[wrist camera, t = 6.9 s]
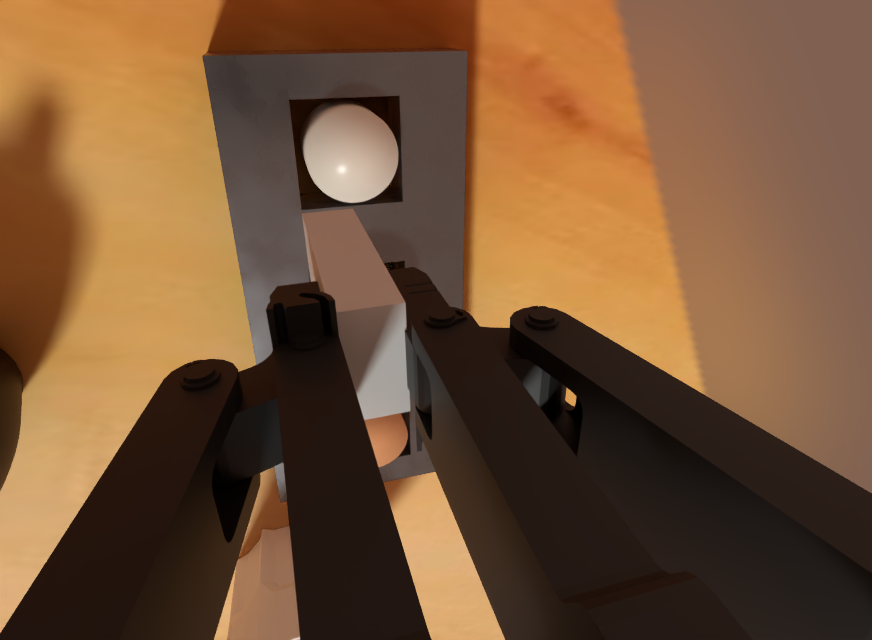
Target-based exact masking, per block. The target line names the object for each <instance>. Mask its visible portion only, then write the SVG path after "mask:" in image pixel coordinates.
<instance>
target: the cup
mask: <svg viewBox="0 0 872 640" xmlns="http://www.w3.org/2000/svg"><path fill="white" fill-rule="evenodd" d="M227 640H300V632H299V622H298V611H297V601H296V590H295V580H294V569H293V559H292V548H291V538H290V527H289V526H287V527H283V528H279V529H276V530H269V529H262V532H261V538H260V540H259V541H258V542H257V543H256V544H255V546H254V547H253V548H252V549H251V551H250V552H249V553H248V554H247V555H245V556H243V557H241V558H240V559H238V560H237V564H236V572H235V581H234V589H233V597H232V605H231V615H230V623H229V630H228V637H227Z"/></svg>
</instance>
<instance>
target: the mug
mask: <svg viewBox="0 0 872 640" xmlns="http://www.w3.org/2000/svg"><path fill="white" fill-rule="evenodd" d="M22 390H23V380H22V376H21V372H20V370H19V368H18V366H17V365H16V363H15V362H14V360H13V359H12V358H11V357H10V356H9V355H8V354H7V353H6V352H4V351H3V350H2V349H0V490H1V488H2V486H3V484H4V482H5V480H6V477H7V475H8V472H9V470H10V467H11V464H12V461H13V458H14V455H15V452H16V448H17V444H18V439H19V433H20V425H21V406H22Z"/></svg>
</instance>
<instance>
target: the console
mask: <svg viewBox="0 0 872 640" xmlns="http://www.w3.org/2000/svg"><path fill="white" fill-rule="evenodd" d="M467 60H468V51H466V50H459V49H453V48H419V49H363V50H307V51H251V52H207V53H206V54H204V55H203V62H204V67H205V73H206V79H207V85H208V90H209V96H210V102H211V107H212V113H213V119H214V125H215V130H216V136H217V142H218V147H219V153H220V159H221V165H222V170H223V176H224V182H225V187H226V193H227V199H228V205H229V210H230V216H231V222H232V227H233V233H234V239H235V245H236V250H237V256H238V262H239V267H240V273H241V279H242V285H243V290H244V296H245V302H246V307H247V313H248V319H249V325H250V330H251V336H252V342H253V347H254V353H255V359H256V365H257V364H259V363H261V362H262V361H264V360H265V359H266V358H267V357H268V356H269V355H270V354H271V353H272V351H273V348H272V342H271V336H270V330H269V325H268V319H267V313H266V308H267V305H268V303H270V295H271V293H272V292H273V291H274V290H275V288H276V287H277V286H282V285H290V284H298V283H305V282H310V279H309V265H308V257H307V249H306V242H305V234H304V226H303V219H302V214H303V213H313V212H322V211H332V210H342V209H352V208H353V210H354V211H355V213H356V215H357V217H358V218H359V220H360V222H361V224H362V226H363V227H364V229H365V231H366V233H367V235H368V236H369V238H370V240H371V242H372V244H373V245H374V247H375V249H376V251H377V252H378V254H379V256H380V258H381V260H382V261H383V263H388V262H394V269H402V268H409V267H415V268H417V269H419V270H421V271H423V272H425V273H427V275H428V276H429V278H430V279H431V281H432V282H433V284H434V285H435V286H436V288H437V290H438V291H439V292H440V293H441V295H442V296H443V298H444V299H445V301H446V302H447V303H448V305H449V306H450V307H456V308H459V309H462V310H463V264H464V213H465V162H466V111H467ZM377 96H388V120H389V128H390V130H391V131H392V133H393V135H394V137H395V140H396V143H397V147H398V165H397V169H396V172H395V175H394V177H393V179H392V181H391V187H389V188H385V189H384V190H383V191H382V192H381V193H380V194H379V195H377V196H375V197H374V198H372V199H369V200H366V201H363V202H357V203H349V202H342V201H339V200H336V199H333V198H331V197H330V196H328V195H326V194H325V193H310V194H300V192H299V184H298V175H297V166H296V157H295V149H294V140H293V131H292V123H291V114H290V105H289V100H297V99H324V98H350V97H377ZM401 414H402V417H403V420H404V422H405V425H406V428H407V432H408V439H407V443H406V446H405V448H404V450H403V451H402V452H401V454H400V455H399V456H398V457H397V458H396V459H394V460H393V461H392V462H390V463H388V464H386V465H384V466H381V467H379V470H380V474H381V477H382V480H383V482H386V481H391V480H396V479H401V478H406V477H411V476H416V475H421V474H426V473H431V472H436V471H435V469H434V466H433V464H432V462H431V459H430V457H429V454H428V452H427V450H426V447H425V445H424V442H423V443H422V451H418V452H417V445H416V420H415V403H414V401H413V398H412V396H411V394H410V411H409V412H404V413H401ZM274 467H275V473H276V479H277V485H278V490H279V496H280V502H285V501H287V495H286V485H285V474H284V464H283V463H281V464H279V465H276V466H274Z"/></svg>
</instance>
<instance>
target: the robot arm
mask: <svg viewBox="0 0 872 640" xmlns="http://www.w3.org/2000/svg"><path fill="white" fill-rule="evenodd" d="M302 219H303V226H304V234H305V242H306V249H307V257H308V265H309V272H310V280H311V282H305V283H298V284H290V285H282V286H277V287H276V288H275V290H274V291H273V292H272V293H271V295H270V303H268V305H267V308H266V313H267V319H268V325H269V330H270V336H271V342H272V348H273V351H272V353H271V354H270V355H269V356H268V357H267V358H266V359H265V360H264V361H262V362H261V363H259V364H257V365H255V366H253V367H250V368H248V369H246V370H243V371H240V372H238V369H237V368H236V367H235V365H234V364H233V363H230V362H228V361H225V360H218V359H207V360H197V361H193V362H192V363H191V362H190V363H187V364H185V365H183V366H181V367H179V368H178V369H176V370H174V371H172V372H171V373H170V374H169V375H168V376H167V377H166V378H165V379H164V380H163V382H162V383H161V385H160V386H159V388H158V389H157V391H156V392H155V394H154V396H153V397H152V399H151V400H150V402H149V403H148V405H147V406H146V408H145V410H144V411H143V413H142V414H141V416H140V417H139V419H138V420H137V422H136V423H135V425H134V427H133V428H132V430H131V431H130V433H129V434H128V436H127V437H126V439H125V441H124V442H123V444H122V445H121V447H120V448H119V450H118V451H117V453H116V455H115V456H114V458H113V459H112V461H111V462H110V464H109V465H108V467H107V469H106V470H105V472H104V473H103V475H102V476H101V478H100V479H99V481H98V482H97V484H96V486H95V487H94V489H93V490H92V492H91V493H90V495H89V496H88V498H87V500H86V501H85V503H84V504H83V506H82V507H81V509H80V510H79V512H78V514H77V515H76V517H75V518H74V520H73V521H72V523H71V524H70V526H69V528H68V529H67V531H66V532H65V534H64V535H63V537H62V538H61V540H60V542H59V543H58V545H57V546H56V548H55V549H54V551H53V552H52V554H51V555H50V557H49V559H48V560H47V562H46V563H45V565H44V566H43V568H42V569H41V571H40V573H39V574H38V576H37V577H36V579H35V580H34V582H33V583H32V585H31V587H30V588H29V590H28V591H27V593H26V594H25V596H24V597H23V599H22V601H21V602H20V604H19V605H18V607H17V608H16V610H15V611H14V613H13V614H12V616H11V618H10V619H9V621H8V622H7V624H6V625H5V627H4V628H3V630H2V632H1V633H0V640H214V637H215V634H216V630H217V627H218V624H219V620H220V617H221V614H222V610H223V607H224V604H225V600H226V597H227V594H228V590H229V587H230V584H231V580H232V577H233V573H234V570H235V567H236V563H237V560H238V557H239V553H240V550H241V547H242V543H243V540H244V537H245V533H246V530H247V527H248V523H249V520H250V517H251V513H252V510H253V507H254V503H255V500H256V497H257V493H258V490H259V487H260V473H261V472H263V471H265V470H267V469H270V468H272V467H274V466H276V465H279V464H281V463H283V464H284V474H285V485H286V495H287V506H288V516H289V527H290V538H291V548H292V559H293V569H294V580H295V590H296V601H297V611H298V622H299V632H300V640H431V637H430V635H429V632H428V629H427V626H426V622H425V619H424V616H423V612H422V609H421V606H420V602H419V599H418V596H417V593H416V589H415V586H414V583H413V579H412V576H411V573H410V569H409V566H408V563H407V559H406V556H405V553H404V550H403V546H402V543H401V540H400V536H399V533H398V530H397V526H396V523H395V520H394V517H393V513H392V510H391V507H390V503H389V500H388V497H387V493H386V490H385V487H384V484H383V480H382V477H381V474H380V470H379V467H378V464H377V460H376V457H375V454H374V450H373V447H372V444H371V441H370V437H369V434H368V431H367V427H366V424H365V421H364V420H367V419H372V418H378V417H383V416H388V415H393V414H398V413H404V412H409V411H410V394H411V396H412V398H413V401H414V403H415V420H416V445H417V452H418V451H422V443H423V442H424V445H425V447H426V450H427V452H428V454H429V457H430V459H431V462H432V464H433V466H434V469H435V471H436V474H437V476H438V479H439V481H440V483H441V486H442V488H443V491H444V493H445V495H446V498H447V500H448V503H449V505H450V507H451V510H452V512H453V515H454V517H455V519H456V522H457V524H458V527H459V529H460V532H461V534H462V536H463V539H464V541H465V544H466V546H467V548H468V551H469V553H470V556H471V558H472V560H473V563H474V565H475V568H476V570H477V572H478V575H479V577H480V580H481V582H482V585H483V587H484V589H485V592H486V594H487V597H488V599H489V601H490V604H491V606H492V609H493V611H494V613H495V616H496V618H497V621H498V623H499V626H500V628H501V630H502V633H503V635H504V638H505V640H872V493H870V492H868V491H867V490H864V489H863V488H861V487H859V486H858V485H856V484H855V483H853V482H851V481H850V480H848V479H846V478H844V477H843V476H841V475H839V474H838V473H836V472H834V471H833V470H831V469H829V468H827V467H826V466H824V465H822V464H821V463H819V462H817V461H815V460H814V459H812V458H810V457H809V456H807V455H805V454H804V453H802V452H800V451H799V450H797V449H795V448H794V447H792V446H790V445H788V444H787V443H785V442H783V441H782V440H780V439H778V438H777V437H775V436H773V435H771V434H770V433H768V432H766V431H765V430H763V429H761V428H760V427H758V426H756V425H754V424H753V423H751V422H749V421H748V420H746V419H744V418H742V417H741V416H739V415H738V414H736V413H734V412H732V411H731V410H729V409H727V408H726V407H724V406H722V405H720V404H719V403H717V402H715V401H714V400H712V399H710V398H709V397H707V396H705V395H704V394H702V393H700V392H698V391H697V390H695V389H693V388H692V387H690V386H688V385H687V384H685V383H683V382H682V381H680V380H678V379H676V378H675V377H673V376H671V375H670V374H668V373H666V372H665V371H663V370H661V369H659V368H658V367H656V366H654V365H653V364H651V363H649V362H648V361H646V360H644V359H642V358H641V357H639V356H637V355H636V354H634V353H632V352H631V351H629V350H627V349H625V348H624V347H622V346H620V345H619V344H617V343H615V342H614V341H612V340H610V339H609V338H607V337H605V336H603V335H602V334H600V333H598V332H597V331H595V330H593V329H592V328H590V327H588V326H586V325H585V324H583V323H581V322H580V321H578V320H576V319H575V318H573V317H571V316H569V315H568V314H566V313H564V312H562V311H559V310H557V309H552V308H548V307H545V306H539V307H538V306H532V307H529V308H523V309H520V310H518V311H516V312H514V313H513V315H512V316H511V317H510V328H490V327H480V326H479V325H478V324H477V322H476V321H475V320H474V318H473V317H472V316H471V315H470V314H469V313H468V312H466V311H465V310H462V309H459V308H456V307H450V306H449V305H448V303H447V302H446V301H445V299H444V298H443V296H442V295H441V293H440V292H439V291H438V290H437V288H436V286H435V285H434V284H433V282H432V281H431V279H430V278H429V276H428V275H427V273H425V272H423V271H421V270H419V269H417V268H415V267H409V268H402V269H394V270H387V269H386V267H385V265H384V263H383V261H382V260H381V258H380V256H379V254H378V252H377V251H376V249H375V247H374V245H373V244H372V242H371V240H370V238H369V236H368V235H367V233H366V231H365V229H364V227H363V226H362V224H361V222H360V220H359V218H358V217H357V215H356V213H355V211H354V210H353V208H352V209H342V210H332V211H322V212H313V213H303V214H302ZM566 387H567V388H568V389H569V390H571V391H572V392H573V393H574V394H575V395H576V396H577V398H576V405H575V407H574V406H572V405H570V404H569V403H567V402H566V401H565V396H566Z"/></svg>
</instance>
